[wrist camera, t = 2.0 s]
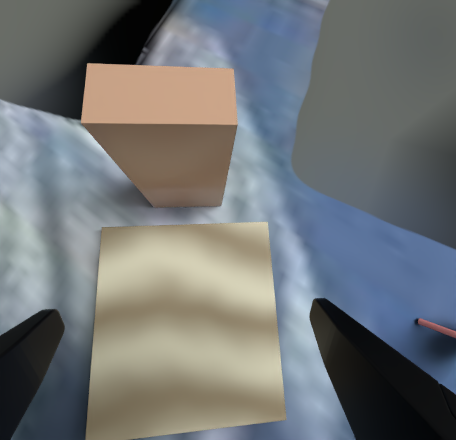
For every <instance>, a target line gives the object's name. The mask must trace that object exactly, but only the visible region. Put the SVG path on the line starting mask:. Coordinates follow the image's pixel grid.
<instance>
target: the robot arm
mask: <svg viewBox="0 0 456 440" xmlns="http://www.w3.org/2000/svg"><path fill="white" fill-rule="evenodd" d="M310 322H311V325H312V328H313V331H314V334H315V338H316V341H317V344H318V347H319V350H320V353H321V356H322V359H323V362H324V365H325V368H326V370H327V373H328V375H329V377H330V380H331V382H332V384H333V387H334V389H335V391H336V394H337V396H338V398H339V401H340V403H341V405H342V408H343V410H344V412H345V415H346V417H347V420H348V422H349V424H350V427H351V429H352V431H353V434H354V436H355V438H356V440H456V394H454V393H453V392H452V391H450V390H449V389H448V388H446V387H445V386H443V385H442V384H439V383H438V381H437V380H435V379H434V378H433V377H431V376H430V375H429V374H427V373H426V372H424V371H423V370H422V369H420V368H419V367H418V366H416V365H415V364H414V363H412V362H411V361H410V360H408V359H407V358H406V357H404V356H403V355H402V354H400V353H399V352H397V351H396V350H395V349H393V348H392V347H391V346H389V345H388V344H387V343H385V342H384V341H383V340H381V339H380V338H379V337H377V336H376V335H375V334H373V333H372V332H370V331H369V330H368V329H366V328H365V327H364V326H362V325H361V324H360V323H358V322H357V321H356V320H354V319H353V318H352V317H350V316H349V315H348V314H346V313H345V312H343V311H342V310H341V309H339V308H338V307H337V306H335V305H334V304H333V303H331V302H330V301H329V300H327V299H325V298H315V299H314V300H313V302H312V307H311V311H310ZM64 330H65V326H64V323H63V321H62V318H61V316H60V313H59V311H58V310H56V309H45V310H41V311H39V312H38V313H36V314H35V315H33V316H31V317H30V318H28V319H26V320H25V321H23V322H22V323H20V324H18V325H17V326H15V327H14V328H12V329H10V330H9V331H7V332H6V333H4V334H2V335H1V336H0V440H10V439H11V437H12V436H13V434H14V432H15V430H16V428H17V427H18V425H19V423H20V421H21V419H22V417H23V416H24V414H25V412H26V410H27V408H28V407H29V405H30V403H31V401H32V399H33V397H34V396H35V394H36V392H37V390H38V388H39V386H40V384H41V382H42V380H43V378H44V376H45V374H46V372H47V370H48V367H49V365H50V363H51V361H52V358H53V356H54V354H55V352H56V349H57V347H58V345H59V343H60V340H61V338H62V336H63V333H64Z"/></svg>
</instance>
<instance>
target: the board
mask: <svg viewBox="0 0 456 440" xmlns="http://www.w3.org/2000/svg"><path fill="white" fill-rule="evenodd" d="M282 420H286V411H285V400H284V390H283V379H282V369H281V358H280V348H279V337H278V327H277V316H276V306H275V295H274V285H273V274H272V264H271V253H270V243H269V232H268V222H250V223H220V224H190V225H160V226H130V227H102V231H101V244H100V257H99V270H98V283H97V296H96V309H95V322H94V335H93V348H92V361H91V374H90V387H89V400H88V413H87V426H86V439H85V440H129V439H137V438H145V437H153V436H161V435H169V434H177V433H185V432H193V431H201V430H209V429H217V428H225V427H233V426H241V425H249V424H258V423H266V422H274V421H282Z"/></svg>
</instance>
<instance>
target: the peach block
mask: <svg viewBox="0 0 456 440" xmlns="http://www.w3.org/2000/svg"><path fill="white" fill-rule="evenodd" d="M81 124H82V125H83V126H84V127H85V128H86V129H87V130H88V132H89V133H90V134H91V135H92V136H93V137H94V139H95V140H96V141H97V142H98V143H99V144H100V145H101V147H102V148H103V149H104V150H105V151H106V152H107V154H108V155H109V156H110V157H111V158H112V159H113V160H114V162H115V163H116V164H117V165H118V166H119V167H120V169H121V170H122V171H123V172H124V173H125V174H126V175H127V177H128V178H129V179H130V180H131V181H132V182H133V184H134V185H135V186H136V187H137V188H138V189H139V190H140V192H141V193H142V194H143V195H144V196H145V197H146V199H147V200H148V201H149V202H150V203H151V204H152V205H153V207H154V208H163V207H202V206H221V205H222V200H223V195H224V190H225V185H226V180H227V175H228V170H229V165H230V160H231V155H232V150H233V145H234V140H235V135H236V130H237V125H238V124H237V110H236V96H235V82H234V69H227V68H198V67H170V66H142V65H113V64H112V65H111V64H88V65H87V74H86V83H85V92H84V101H83V110H82V119H81Z"/></svg>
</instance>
